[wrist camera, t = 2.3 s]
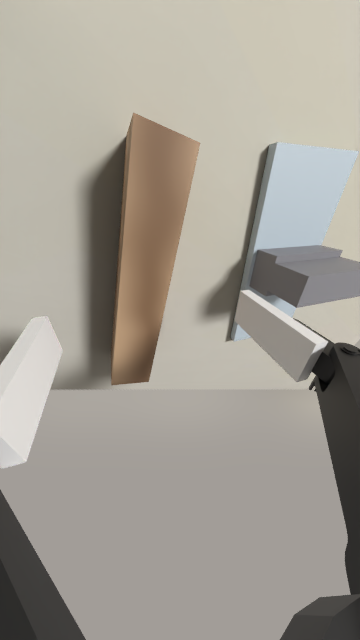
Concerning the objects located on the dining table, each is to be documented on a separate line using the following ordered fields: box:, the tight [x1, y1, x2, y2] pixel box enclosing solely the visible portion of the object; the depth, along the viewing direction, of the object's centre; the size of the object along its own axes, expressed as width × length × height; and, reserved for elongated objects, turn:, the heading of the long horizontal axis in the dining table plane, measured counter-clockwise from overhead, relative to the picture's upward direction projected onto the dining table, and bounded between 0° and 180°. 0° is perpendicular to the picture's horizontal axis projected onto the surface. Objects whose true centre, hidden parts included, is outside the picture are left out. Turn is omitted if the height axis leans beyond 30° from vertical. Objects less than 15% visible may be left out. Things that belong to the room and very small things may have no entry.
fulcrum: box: [230, 142, 360, 341], centre depth 21 cm, size 10×22×8 cm, turn 179°
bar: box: [111, 113, 200, 385], centre depth 18 cm, size 4×21×5 cm, turn 166°
